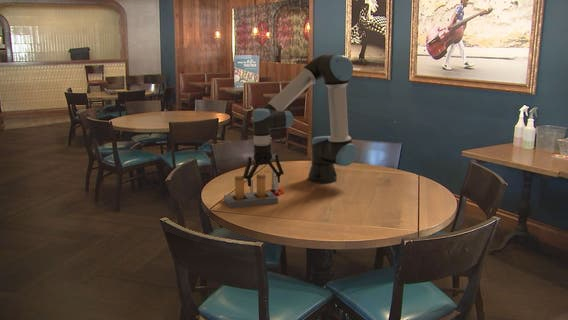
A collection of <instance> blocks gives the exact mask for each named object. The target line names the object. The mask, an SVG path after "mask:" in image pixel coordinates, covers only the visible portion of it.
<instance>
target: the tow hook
mask: <svg viewBox="0 0 568 320" xmlns="http://www.w3.org/2000/svg"><path fill="white" fill-rule="evenodd" d="M271 170H272V169H271ZM274 176H275V173H274V171H273V170H272V171H271V185H270V187H271V188H268V189H267V190H266V191H271V192H272V193H273V194H274V195H275V196H281V195H282V194H284V193H285V190H284V189H282V188H278V191H276V190H275V179H274Z"/></svg>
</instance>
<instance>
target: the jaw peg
mask: <svg viewBox="0 0 568 320" xmlns="http://www.w3.org/2000/svg"><path fill="white" fill-rule="evenodd" d="M255 176H256V177H255V178H256V192H257V198H261V197H266V191H267V190H266V174H264V173H261V174H260V173H259V174H256V175H255Z"/></svg>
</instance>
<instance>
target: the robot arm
mask: <svg viewBox="0 0 568 320" xmlns="http://www.w3.org/2000/svg"><path fill="white" fill-rule="evenodd" d="M353 72H354V65H353V63H352V60H351V59H350V58H349V57H348V56H346V55H341V54H322V55H318V56H316V57H315V58H313V59H312V60H310V61H309V62H307V64H306V65H304V66H303V67H302V68H301V69H300V73H299V74H297V76H296V77H294V78H293V79H292V80H291V81H290V82H289V83H288V84H287V85H286V86H285V87H284V88H283V89H282V90H281V91H279V93H277V94H276V95H275V96H274V97H272V99H271V100H270V101H269V102H268V103H267V104H265V105H264V106H263V107H257V108H256V109H253V110H252V131H253V132H252V134H253V144H254V145H253V156H250V155H249V156H247V158H246V161H247V162H246V165H245V168H244V173H243V175H242V176H244V180H247V186H248V187H249V190H250V191H249V193H251V194H253V192H254V180H253V176H254V174H255V173H256V171H257V169H258V167H259V166H263V165H264V166H265V165H268V166H269V167H270V168H271V170H273V171H274V184H275V190H276V191H275V192H279V191H278V189H279V184H280V183H281V179H280V177H281V176H282V175H284V174H285V173H284V171H283V167H282V165H281V163H280V160H279V155H278V154H277V153H274V154H272V145H271V130H276V129H286V128H290V127H291V126H293V124H294V115H293V113H292V112H291V111H290V110H286V108H287V107H289V105H290V104H292V103H293V101H296V99H297V98H298V97H299V96H301V95H302V93H304V92H305V90H307V89H308V88H309V87H310V86H311V85H315V84H316V83H317V82H319V81H321V80H324V83H323V84H324V86H325V87H327V92H328V93H327V95H328V96H327V97H328V110H329V123H330V124H329V126H330V135H321V136H315V137H313V138H312V140H311V166H310V170H309V171H308V176H307V179H308V181H310V182H313V183H320V184H323V183H324V184H327V183H333V182H336V181H337V180H338V175H337V171H336V168H335V165H337V166H340V167H342V166H343V167H348V166H350V165H352V164H353V163H354V162H355V160H356V158H357V155H358V149H357V147H356V145H355V143H354V144H353V142H352V140H353V139H352V136H350V135H349V125H348V123H349V121H348V119H349V118H348V105H347V103H348V101H347V86H348V85H349V83H350V82H349V81H350V79H351V78H352V75H353V74H354V73H353ZM272 158H273V160H274V163H275V164H276V167H277V168H276V167H275V166H274V164H273V163H272V161H271V160H272ZM253 161H255V162H254V164H253V166H252V162H253ZM251 166H252V168H251Z"/></svg>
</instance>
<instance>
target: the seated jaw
mask: <svg viewBox="0 0 568 320" xmlns="http://www.w3.org/2000/svg"><path fill="white" fill-rule="evenodd" d="M244 193H245V178H244V176H243V175H236V176H235V177H234V194H235V200H241V199H244Z"/></svg>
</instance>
